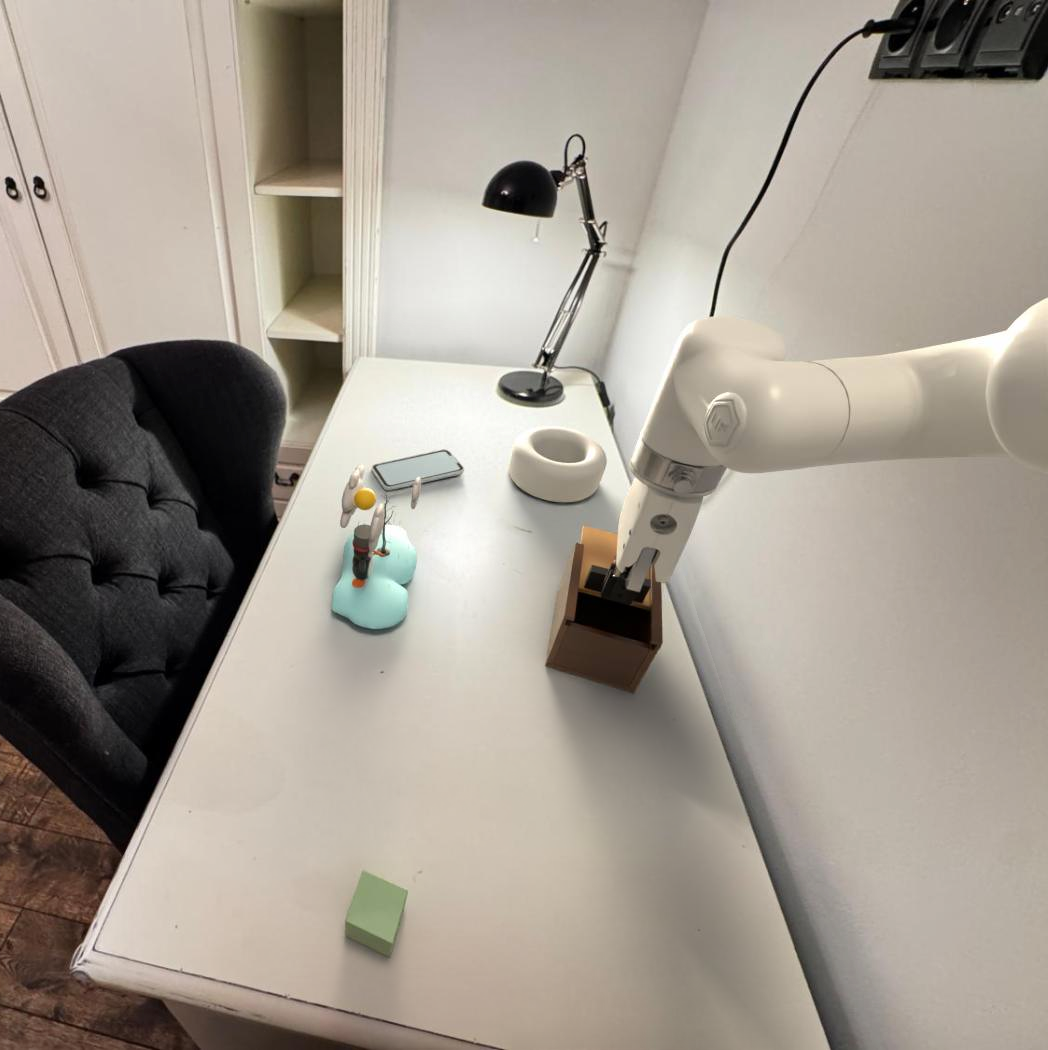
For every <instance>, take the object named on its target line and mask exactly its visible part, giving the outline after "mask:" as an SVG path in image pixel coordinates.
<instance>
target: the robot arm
mask: <svg viewBox="0 0 1048 1050" xmlns="http://www.w3.org/2000/svg"><path fill="white" fill-rule="evenodd" d="M787 349H788V346H787V343H786V340H785V338H784V337H783V335H782V334H781V333H780V332H778V330H775V329H774V328H773V327H770V326H768V325H766V324H763V323H760V322H757V321H755V320H751V319H748V318H747V319H746V318H742V317H735V316H727V315H726V316H724V315H723V316H722V315H721V316H719V315H717V316H707V317H702V318H699V319H696V320H694V321H693V322H691V323H689V324H688V325H687V326H686V327H685V328H684V329H683V331H682V332H681V334H680V335H679V337H678V338H677V341H676V344H675V345H674V349H673V351H672V353H671V355H670V359H669V361H668V364H667V366H666V368H665V371H664V374H663V376H662V378H661V382H660V384H659V387H658V389H657V391H656V394H655V395H654V396H655V397H654V399H653V402H652V403H651V407H650V409H649V412H648V414H647V417H646V419H645V422H644V424H643V427H642V429H641V432H640V435H639V437H638V438H637V439H638V440H637V442H636V445H635V447H634V450H633V452H632V455H631V457H630V460H629V463H628V467H629V470H630V472H631V473H632V475H633V476H634V478H633V481H632V482H631V485H630V487H629V490H628V492H627V495H626V497H625V501H624V502H623V506H622V508H621V512H620V516H619V519H618V520H619V521H618V528H617V534H618V539H617V553H616V555H615V559H614V563H616V564H614V563H611V565H610V568H609V570H608V572H607V575H606V577H605V579H604V582H603V584H602V588H601V590H602V591H601V597H602V598H603V599H607V600H611V601H614V602H618V603H622V604H626V605H630V604H631V603H632V602H633V599H634V597H635V595H636V593H637V592H640V591H641V588H642V586H643V583H644V581H645V578H646V576H647V573H648V571H649V570H650V568H651V566H652V564H654V567H655V578H656V581H657V582H661V584H666V583H668V582H669V581H670V580H671V578H672V576H673V574H674V571H675V568H677V565H678V564H679V561H680V560H681V559H680V558H681V556H682V554H683V553H684V550H685V547H686V545H687V543H688V541H689V538H690V536H691V534H692V532H693V529H694V527H695V524H696V521H697V518H698V516H699V513H700V510H701V507H702V503H703V499H704V497H707V496H709V495H711V494H713V493H714V492H715V491H716V490H717V488H718V486H719V484H720V482H721V481H722V479H723V477H724V474H725V473H726V471H727V469H728V470H730V471H733V472H737V473H741V474H765V473H766V474H767V473H774V472H784V471H794V470H795V471H796V470H802V469H807V468H817V467H826V466H827V467H828V466H834V465H835V466H836V465H847V464H857V463H858V464H859V463H866V462H867V463H868V462H878V461H879V462H881V461H882V462H883V461H897V460H917V459H918V460H919V459H945V458H946V459H947V458H951V459H952V458H1012V459H1013V460H1014V461H1016V462H1017V463H1019V464H1020V465H1022V466H1024V467H1026V468H1028V469H1030V470H1032V471H1035V472H1037V473H1042V474H1046V475H1048V297H1046V298H1044V299H1042V300H1040V301H1038V302H1036V303H1035V304H1033V305H1031V306H1030V307H1028V308H1027V309H1026V310H1025V311H1024V312H1023V313H1022V314H1021V315H1019V316H1018V317H1017V318H1016V319H1015V320H1014V321H1013V322H1012V323H1011V325H1010V326H1009V327H1008V328H1007V329H1006V330H1002V331H1000V332H994V333H991V334H985V335H982V336H977V337H972V338H968V339H962V340H957V341H952V342H947V343H941V344H936V345H931V346H925V347H921V348H915V349H910V350H903V351H899V352H893V353H886V354H879V355H869V356H855V357H853V356H851V357H838V358H837V357H836V358H827V359H818V360H817V359H816V360H805V361H804V360H803V361H793V360H792V361H791V360H790V361H789V360H785V359H786V357H787Z"/></svg>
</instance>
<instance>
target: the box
mask: <svg viewBox="0 0 1048 1050" xmlns="http://www.w3.org/2000/svg"><path fill="white" fill-rule="evenodd" d="M583 552H584V544H580V542H576V541H575V543H574V545H573V548H572V551H571V553H570V555H569V556H570V557H569V559H568V562H567V565H566V567H565V570H564V572H563V575H562V578H561V582H560V585H559V587H558V590H557V594H556V598H555V604H554V611H553V616H552V623H551V628H550V636H549V640H548V646H547V652H546V659H545V663H544V667H548V668H551V669H554V670H557V671H559V672H560V671H561V672H564V673H567V674H570V675H573V676H576V677H579V678H583V679H586V680H589V681H593V682H596V683H598V684H602V685H605V686H608V687H612V688H615V689H619V690H622V691H624V692H628V693H632V694H634V693H635V692H636V690H637V688H638V686H639V684H640V683H641V681H642V679H644V678H643V677H644V676H645V674H646V672H647V671H648V669H649V667H650V665H651V664H652V662H653V661H654V659H655V658H656V655H657V654H658V652H659V651H660V649H661V647H662V645H663V643H664V640H663V638H664V637H663V595H662V594H663V592H662V591H663V590H662V588H663V587H662V583H661V582H657V581H656V578H655V567H654V564H652V566H651V568H650V580H651V587H650V611H649V610H646V609H642V608H638V607H635V606H631V605H626V604H622V603H618V602H614V601H611V600H607V599H603V598H601V597H597V596H594V595H590V594H586V593H583V592H579V591H578V589H579V582H580V574H581V567H582V559H583Z"/></svg>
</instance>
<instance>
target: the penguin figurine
mask: <svg viewBox="0 0 1048 1050" xmlns="http://www.w3.org/2000/svg"><path fill="white" fill-rule="evenodd" d="M364 475H365V466H364V465H363V463H359V464H358V465H357V466H356V467H355V469H354V471H353V472H352V473H351V475H350V477H349V480H348V482H347V483H346V485H345V487H344V490H343V492H342V497H341V509H342V513H341V515H340V520H339V526H340V527H341V528H342V529H345V528H347V526H349V523H350V520H351V518H352V516H353V515H354V514H355V512H356V510H357V509H359V510H361V511H369V510H371V509H372V508H373V507H374V506H375V504H376V502H377V496H376V494H375V491H373V490H372V489H371V488H368V487H364V481H363V479H364ZM385 487H386V486H385ZM379 489H380V490H379V491H382V490H381V488H379ZM395 490H396V489H395V488H394V490H393V489H392V490H385V493H383V495H382V498H383V497H384V498H383V499H385V503H384V504H383V503H379V504H378V505H377V506H376V507H375V510H374V512H373V515H372V518H371V522H370V524H365V523H366V521H365V520H363V524H360V520H358V522H357V526H356V527H354V529H353V531H352V532H351V533H350V534H349V536H348V538H347V539H346V542H345V543H344V546H343V553H342V558H343V560H342V561H343V562H342V571H341V576H340V579H339V581H338V583H336V585H335V587H333V591H332V598H331V605H330V607H331V608H330V609H331V611H332V612H335V613H337V614H338V615H341V616H343V617H345V618H347V619H348V620H349V621H351V622H352V623H353V624H355V625H357V626H359V627H362V628H366V629H370V630H381V629H382V630H383V629H388V628H391V627H394V626H396V625H397V624H399V623H400V622H401V621H403V620H404V619H405V617H406V616H407V613H408V605H409V603H408V602H409V601H408V600H409V599H408V598H409V597H408V596H409V595H408V593H409V592H408V590H407V589H406V587H404V586H402V585H405V584H407V583H408V582H410V581H411V579H412V577H413V576H414V574H415V572H416V571H415V570H416V569H417V568H416V567H417V563H418V562H417V561H418V556H417V555H418V554H417V551H416V548H415V546H414V545H413V544H412V542H411V541H410V540H409V536H408V533H407V531H406V530H405V529H404V528H402V527H401V526H397V525H392V524H395V520H393V522H392V524H391V519H392V517H393V514H394V510H392V511H391V515H390V516H388V517H387V512H388V511H389V509H387V505H388V504H389V503H390V504H393V503H391V502H389V501H390V499H391V497H392V496H390V497H389V498H388V493H389V492H391V491H395ZM421 490H422V483H421V478H420V477H417V478H416V479H415V481H414V484H413V485H412V488H411V497H410V498H411V500H410V508H411V510H415V509H416V507H417V504H418V501H419V499H420V495H421ZM395 507H396V505H394V506H392V508H395ZM396 516H397V514H395V517H396ZM395 517H393V519H395ZM399 521H401V519H400V520H399ZM399 525H401V522H399Z"/></svg>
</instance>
